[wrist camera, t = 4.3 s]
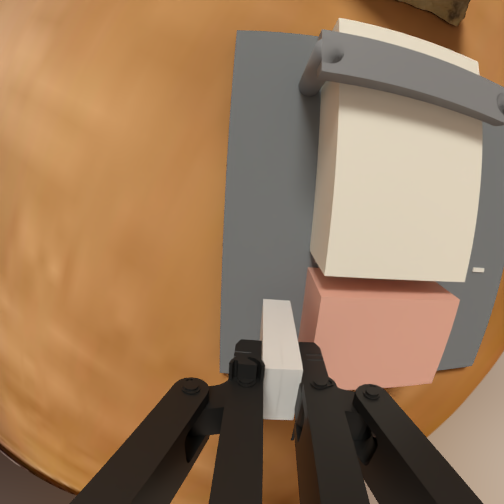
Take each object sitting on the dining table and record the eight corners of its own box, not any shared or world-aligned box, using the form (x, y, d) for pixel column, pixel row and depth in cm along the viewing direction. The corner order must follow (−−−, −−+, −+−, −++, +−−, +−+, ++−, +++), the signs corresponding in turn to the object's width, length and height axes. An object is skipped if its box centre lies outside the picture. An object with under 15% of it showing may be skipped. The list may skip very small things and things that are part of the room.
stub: (297, 347, 19) (304, 390, 15) (307, 267, 18) (321, 296, 14) (405, 346, 19) (431, 382, 15) (424, 273, 18) (459, 299, 14)
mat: (221, 364, 21) (219, 373, 20) (238, 37, 16) (236, 29, 14) (466, 359, 21) (472, 366, 20) (507, 101, 15) (516, 100, 14)
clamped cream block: (287, 249, 18) (298, 283, 12) (299, 48, 15) (314, 1, 9) (442, 260, 18) (493, 290, 12) (454, 84, 15) (506, 65, 9)
